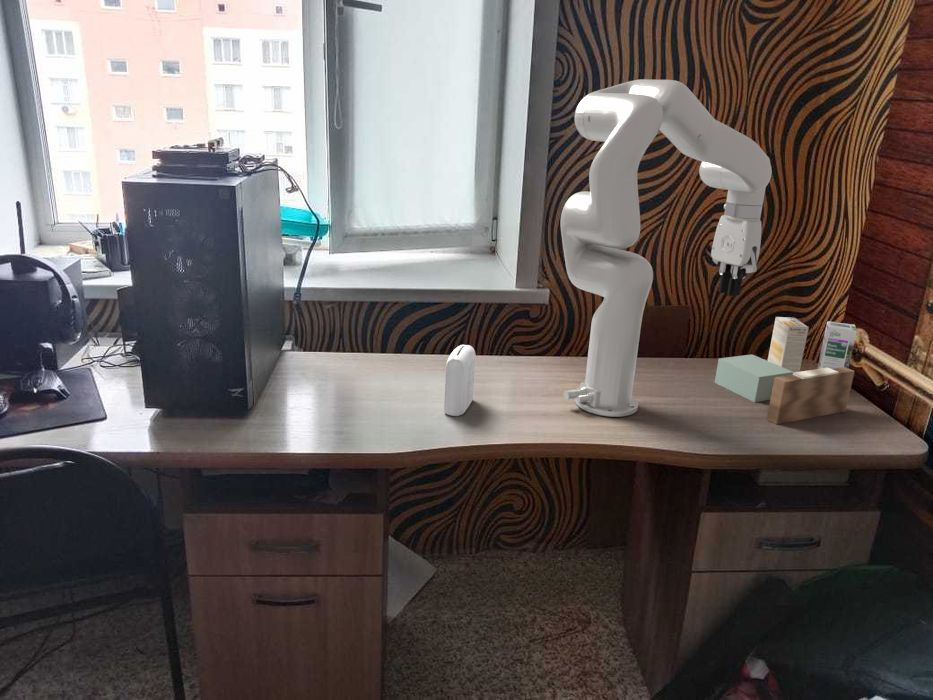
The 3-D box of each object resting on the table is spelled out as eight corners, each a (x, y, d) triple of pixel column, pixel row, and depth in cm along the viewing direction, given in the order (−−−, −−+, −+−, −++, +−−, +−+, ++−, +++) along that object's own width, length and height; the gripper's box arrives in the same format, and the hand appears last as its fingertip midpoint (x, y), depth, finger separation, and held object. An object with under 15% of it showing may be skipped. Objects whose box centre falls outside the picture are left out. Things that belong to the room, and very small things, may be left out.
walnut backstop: (776, 424, 147) (785, 380, 144) (766, 419, 149) (774, 375, 146) (845, 411, 155) (855, 369, 152) (834, 406, 157) (844, 365, 154)
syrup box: (815, 387, 168) (828, 326, 164) (814, 379, 174) (827, 319, 169) (843, 392, 166) (857, 330, 162) (841, 383, 172) (855, 323, 167)
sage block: (754, 403, 158) (759, 376, 156) (714, 383, 168) (718, 358, 166) (788, 397, 162) (793, 372, 160) (747, 378, 172) (752, 354, 170)
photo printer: (454, 396, 152) (457, 338, 148) (475, 399, 151) (478, 341, 147) (440, 415, 142) (443, 354, 138) (462, 418, 141) (466, 357, 138)
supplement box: (798, 381, 172) (810, 327, 167) (778, 380, 172) (788, 325, 167) (785, 369, 179) (795, 317, 175) (765, 368, 179) (775, 315, 175)
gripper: (703, 206, 167) (691, 286, 173) (758, 218, 154) (742, 304, 160) (728, 206, 170) (716, 284, 176) (784, 217, 157) (768, 301, 163)
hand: (728, 293), depth 168 cm, fingers closed
